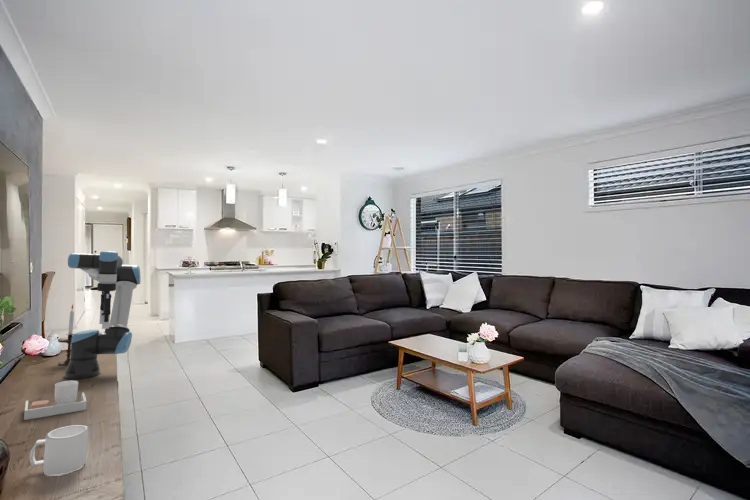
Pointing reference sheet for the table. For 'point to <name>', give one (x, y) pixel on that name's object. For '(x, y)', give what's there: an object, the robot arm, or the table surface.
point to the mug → (62, 449)
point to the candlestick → (68, 339)
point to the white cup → (66, 392)
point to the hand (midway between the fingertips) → (104, 326)
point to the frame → (55, 409)
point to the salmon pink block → (39, 404)
